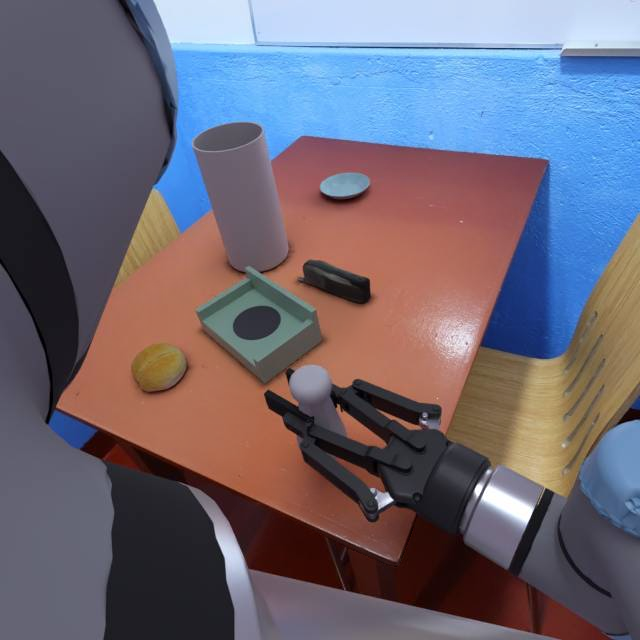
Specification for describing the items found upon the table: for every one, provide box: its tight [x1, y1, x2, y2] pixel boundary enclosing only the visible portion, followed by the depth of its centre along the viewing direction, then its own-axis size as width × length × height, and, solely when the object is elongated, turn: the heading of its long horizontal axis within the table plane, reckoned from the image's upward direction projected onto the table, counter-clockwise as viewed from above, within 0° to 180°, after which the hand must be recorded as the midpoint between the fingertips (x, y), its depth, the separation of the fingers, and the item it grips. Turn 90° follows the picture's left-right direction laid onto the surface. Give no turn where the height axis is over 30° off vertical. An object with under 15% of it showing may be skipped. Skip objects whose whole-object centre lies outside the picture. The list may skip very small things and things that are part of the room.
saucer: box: [319, 172, 371, 200], centre depth 111 cm, size 12×12×2 cm
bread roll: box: [130, 342, 188, 393], centre depth 75 cm, size 8×9×4 cm
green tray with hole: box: [194, 266, 323, 384], centre depth 77 cm, size 12×18×7 cm, turn 43°
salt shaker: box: [288, 364, 348, 460], centre depth 51 cm, size 6×6×13 cm
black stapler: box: [297, 259, 372, 304], centre depth 84 cm, size 5×3×15 cm
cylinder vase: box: [191, 121, 290, 273], centre depth 88 cm, size 12×12×25 cm
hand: (279, 388), depth 53 cm, fingers closed on salt shaker, 3 cm apart
